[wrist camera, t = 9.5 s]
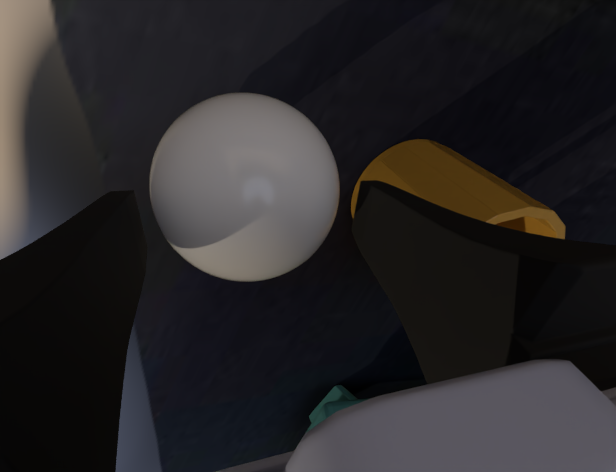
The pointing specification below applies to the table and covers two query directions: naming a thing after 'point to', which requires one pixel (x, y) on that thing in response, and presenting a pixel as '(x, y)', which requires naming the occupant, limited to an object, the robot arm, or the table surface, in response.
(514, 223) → the mug
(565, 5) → the table surface
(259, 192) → the lightbulb
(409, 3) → the table surface
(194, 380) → the table surface
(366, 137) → the table surface
